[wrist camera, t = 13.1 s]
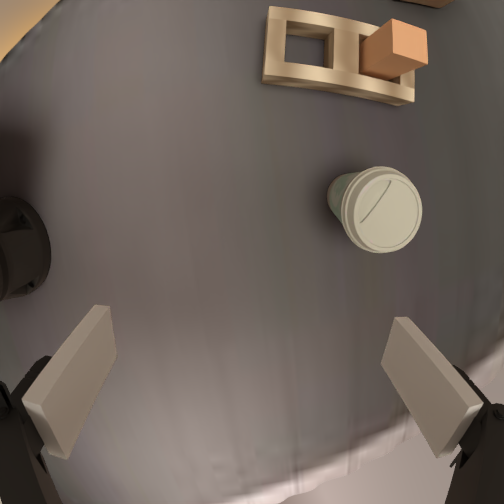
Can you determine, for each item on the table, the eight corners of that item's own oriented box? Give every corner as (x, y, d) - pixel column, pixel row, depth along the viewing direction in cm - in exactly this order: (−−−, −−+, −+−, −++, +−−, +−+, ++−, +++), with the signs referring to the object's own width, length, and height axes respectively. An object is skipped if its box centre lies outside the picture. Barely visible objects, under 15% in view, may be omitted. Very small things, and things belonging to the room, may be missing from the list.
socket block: (261, 83, 34) (264, 74, 30) (266, 20, 32) (269, 6, 27) (397, 106, 35) (414, 102, 31) (397, 46, 33) (413, 37, 28)
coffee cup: (367, 154, 37) (414, 156, 26) (385, 215, 40) (433, 239, 28) (306, 175, 38) (335, 185, 26) (328, 238, 40) (361, 271, 29)
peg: (351, 77, 34) (393, 52, 23) (351, 50, 33) (391, 18, 22) (379, 84, 34) (427, 64, 23) (379, 57, 33) (426, 30, 22)
